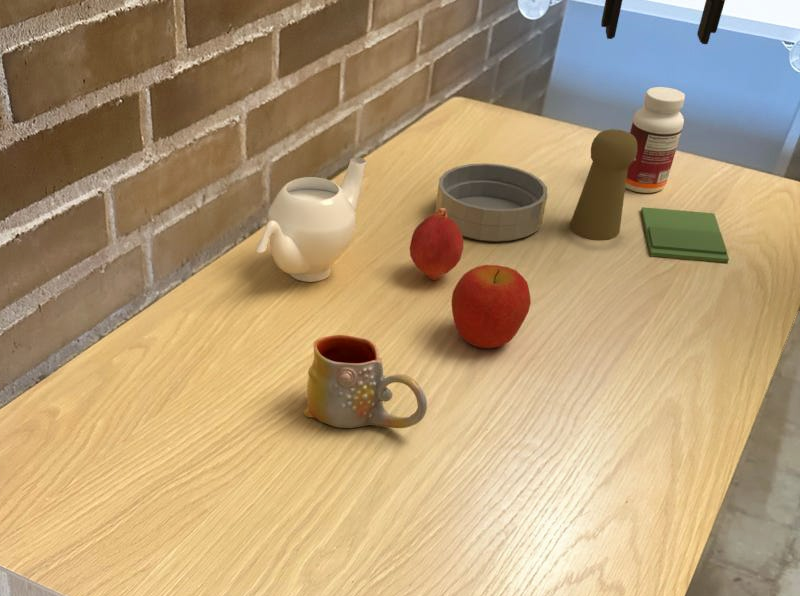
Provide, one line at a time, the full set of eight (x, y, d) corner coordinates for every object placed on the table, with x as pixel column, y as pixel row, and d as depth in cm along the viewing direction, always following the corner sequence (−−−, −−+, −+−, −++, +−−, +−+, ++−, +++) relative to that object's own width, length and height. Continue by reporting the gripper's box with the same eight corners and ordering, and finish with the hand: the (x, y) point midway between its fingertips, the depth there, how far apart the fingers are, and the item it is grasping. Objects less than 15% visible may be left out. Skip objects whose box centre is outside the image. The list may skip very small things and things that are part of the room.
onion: (397, 281, 109) (404, 209, 103) (422, 260, 112) (430, 190, 106) (442, 296, 106) (452, 225, 100) (467, 275, 110) (478, 205, 104)
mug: (291, 414, 91) (292, 351, 86) (333, 381, 95) (336, 319, 90) (399, 462, 87) (406, 399, 82) (438, 426, 91) (447, 364, 86)
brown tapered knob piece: (616, 243, 116) (641, 147, 108) (566, 234, 117) (587, 139, 109) (622, 222, 120) (647, 127, 112) (573, 213, 121) (595, 119, 113)
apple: (498, 315, 104) (511, 244, 98) (536, 353, 100) (551, 281, 94) (434, 328, 102) (443, 257, 96) (469, 367, 97) (481, 295, 92)
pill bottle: (614, 172, 130) (637, 82, 121) (661, 175, 129) (687, 85, 121) (620, 192, 125) (643, 101, 117) (668, 196, 125) (695, 104, 117)
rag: (713, 217, 122) (715, 210, 121) (727, 263, 114) (730, 256, 113) (640, 210, 122) (642, 204, 121) (650, 256, 114) (652, 249, 114)
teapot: (222, 295, 105) (218, 210, 98) (323, 227, 117) (326, 146, 110) (295, 322, 102) (296, 236, 95) (392, 250, 113) (399, 168, 106)
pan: (539, 200, 123) (545, 168, 120) (541, 248, 115) (548, 215, 112) (437, 191, 124) (441, 159, 121) (432, 238, 115) (436, 205, 112)
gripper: (793, -175, 92) (733, 30, 104) (608, -182, 93) (571, 22, 106) (810, -160, 87) (745, 54, 99) (614, -168, 88) (574, 44, 101)
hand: (655, 37), depth 103 cm, fingers open, 9 cm apart
